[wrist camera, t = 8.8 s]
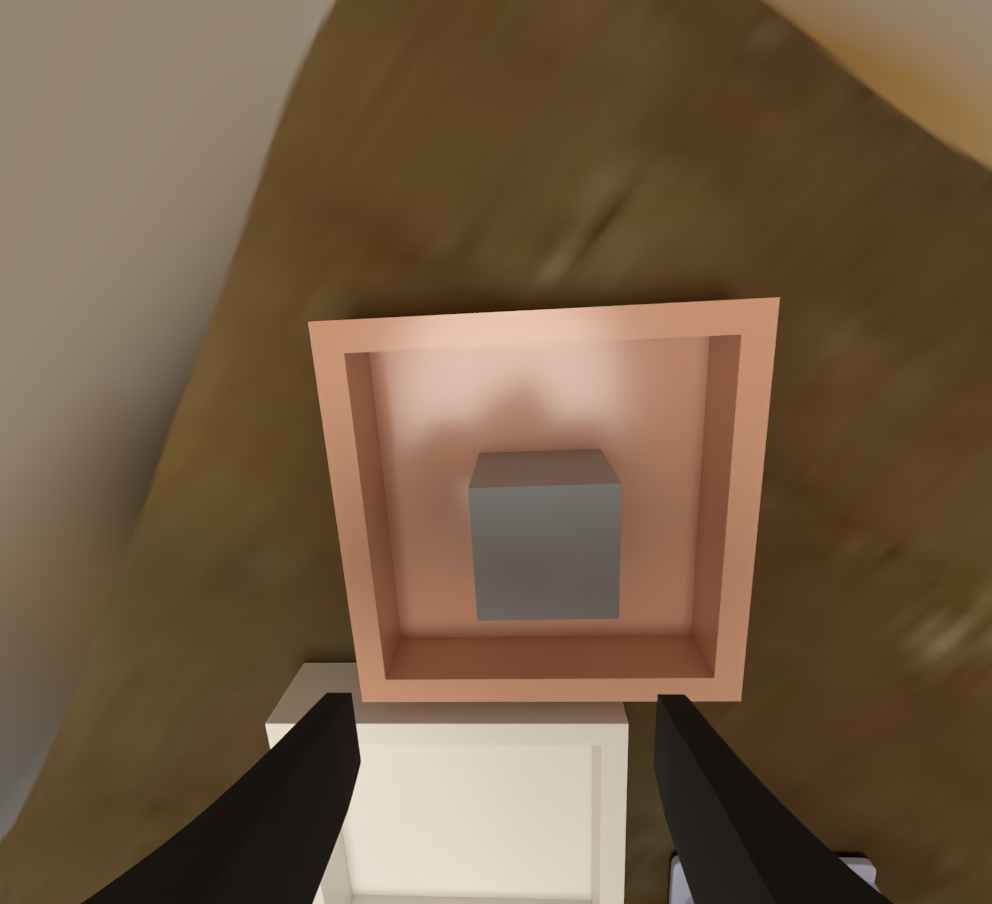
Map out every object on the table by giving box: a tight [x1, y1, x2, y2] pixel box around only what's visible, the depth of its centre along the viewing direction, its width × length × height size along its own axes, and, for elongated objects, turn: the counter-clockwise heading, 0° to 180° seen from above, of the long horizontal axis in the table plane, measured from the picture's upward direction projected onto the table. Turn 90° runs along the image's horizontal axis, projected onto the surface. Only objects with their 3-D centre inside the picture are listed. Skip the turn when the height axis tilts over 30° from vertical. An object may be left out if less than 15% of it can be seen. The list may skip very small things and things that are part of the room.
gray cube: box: [468, 449, 622, 621], centre depth 17 cm, size 4×4×4 cm
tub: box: [265, 663, 628, 904], centre depth 22 cm, size 14×14×4 cm
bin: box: [308, 297, 780, 702], centre depth 18 cm, size 14×14×4 cm
